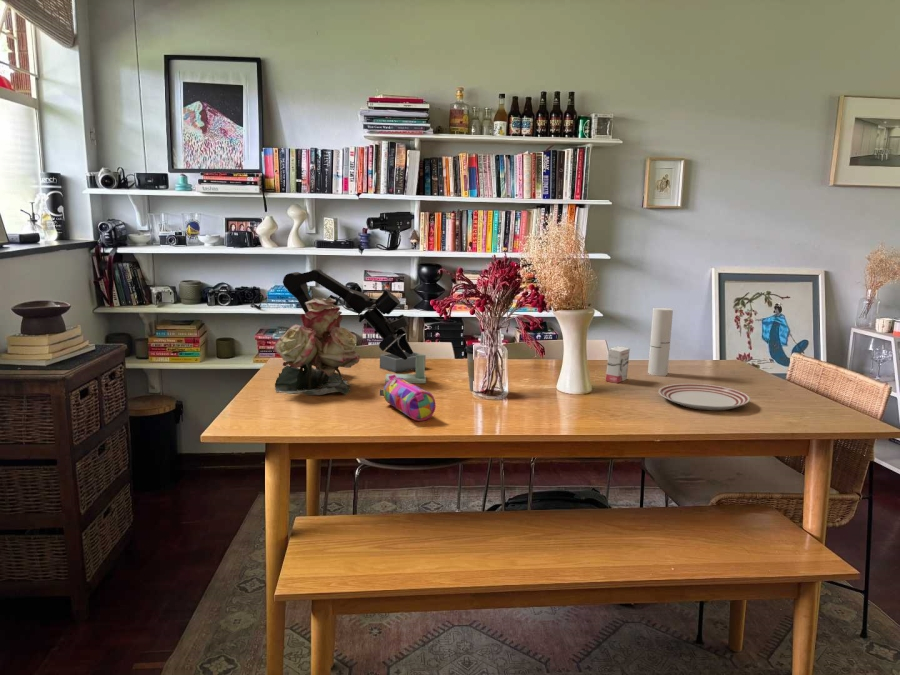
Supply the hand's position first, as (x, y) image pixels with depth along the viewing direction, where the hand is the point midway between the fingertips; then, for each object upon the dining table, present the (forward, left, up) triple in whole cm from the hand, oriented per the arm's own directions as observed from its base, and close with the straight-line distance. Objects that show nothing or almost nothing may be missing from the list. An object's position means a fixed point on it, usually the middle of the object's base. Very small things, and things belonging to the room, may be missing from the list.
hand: (409, 356), depth 232 cm
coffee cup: (+25, +10, -9) cm, 28 cm away
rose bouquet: (-9, -30, -9) cm, 33 cm away
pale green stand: (0, -1, -8) cm, 8 cm away
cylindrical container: (+47, +83, -9) cm, 96 cm away
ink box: (+44, +61, -9) cm, 76 cm away
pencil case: (+31, -24, -9) cm, 41 cm away
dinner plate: (+78, +59, -9) cm, 98 cm away
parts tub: (-16, +9, -8) cm, 21 cm away
